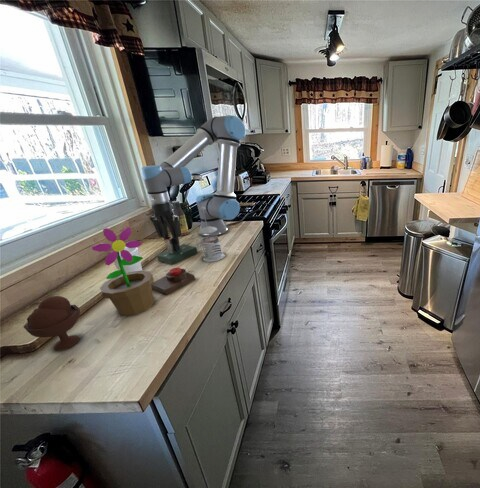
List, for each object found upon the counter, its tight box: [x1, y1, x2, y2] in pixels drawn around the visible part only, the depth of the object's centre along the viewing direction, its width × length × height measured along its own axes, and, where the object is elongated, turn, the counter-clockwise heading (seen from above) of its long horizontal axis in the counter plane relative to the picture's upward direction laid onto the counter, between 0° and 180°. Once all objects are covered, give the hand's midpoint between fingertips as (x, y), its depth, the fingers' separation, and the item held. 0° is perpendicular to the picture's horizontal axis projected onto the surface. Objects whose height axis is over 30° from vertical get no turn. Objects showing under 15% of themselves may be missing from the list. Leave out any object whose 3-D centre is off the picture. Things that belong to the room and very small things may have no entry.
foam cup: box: [110, 247, 143, 273], centre depth 104 cm, size 10×9×13 cm
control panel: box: [156, 243, 199, 265], centre depth 125 cm, size 14×11×3 cm
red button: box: [168, 267, 182, 276], centre depth 102 cm, size 4×4×2 cm
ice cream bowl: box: [23, 295, 81, 352], centre depth 71 cm, size 11×11×15 cm
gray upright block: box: [164, 236, 181, 255], centre depth 122 cm, size 6×2×7 cm, turn 176°
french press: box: [196, 207, 226, 263], centre depth 118 cm, size 10×12×25 cm
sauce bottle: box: [171, 200, 189, 237], centre depth 150 cm, size 6×6×20 cm
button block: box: [151, 268, 196, 296], centre depth 102 cm, size 12×10×4 cm
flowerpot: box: [91, 226, 155, 317], centre depth 84 cm, size 14×14×30 cm
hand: (174, 250), depth 124 cm, fingers closed on gray upright block, 2 cm apart
